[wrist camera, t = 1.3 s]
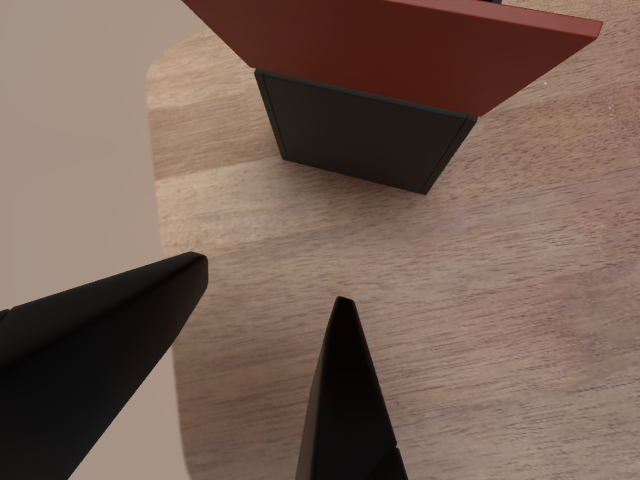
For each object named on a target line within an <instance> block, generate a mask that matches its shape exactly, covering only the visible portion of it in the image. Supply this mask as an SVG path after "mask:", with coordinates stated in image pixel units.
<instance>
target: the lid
mask: <svg viewBox="0 0 640 480" xmlns="http://www.w3.org/2000/svg"><path fill="white" fill-rule="evenodd" d="M182 1H183V2H184V3H185V4H186V5H187V6H188V7H189V8H190V9H191V10H192V11H193V12H194V13H195V14H196V15H197V16H198V17H199V18H200V19H202V21H203V22H204V23H205V24H206V25H207V26H208V27H209V28H210V29H211V30H212V31H213V32H215V33H216V34H217V35H218V36H219V37H220V38H221V39H222V40H223V41H224V42H225V43H226V44H227V45H228V46H229V47H230V48H231V49H232V50H233V51H234V52H235V53H236V54H237V55H238V56H239V57H240V58H241V59H242V60H243V61H244V62H245V63H246V64H247V65H248V66H249V67H251V68H256V69H260V70H265V71H270V72H274V73H279V74H284V75H288V76H293V77H298V78H302V79H307V80H311V81H316V82H321V83H325V84H330V85H335V86H339V87H344V88H349V89H353V90H358V91H363V92H367V93H372V94H377V95H381V96H386V97H391V98H395V99H400V100H404V101H409V102H414V103H418V104H423V105H428V106H432V107H437V108H442V109H446V110H451V111H456V112H460V113H465V114H470V115H474V116H479V117H481V116H483V115H484V114H486V113H487V112H489V111H490V110H492V109H493V108H495V107H496V106H498V105H499V104H501V103H502V102H504V101H505V100H507V99H508V98H510V97H511V96H513V95H514V94H516V93H517V92H519V91H520V90H522V89H523V88H525V87H526V86H527V85H529V84H530V83H532V82H533V81H535V80H536V79H538V78H539V77H541V76H542V75H544V74H545V73H547V72H548V71H550V70H551V69H553V68H554V67H556V66H557V65H559V64H560V63H562V62H563V61H565V60H566V59H568V58H569V57H571V56H572V55H574V54H575V53H577V52H578V51H579V50H581V49H582V48H584V47H585V46H587V45H588V44H590V43H591V42H593V41H594V40H596V39H597V38H598V35H599V33H600V30H601V28H602V25H603V22H602V21H597V20H591V19H586V18H580V17H574V16H568V15H562V14H556V13H550V12H544V11H538V10H533V9H527V8H521V7H515V6H509V5H503V4H497V3H491V2H486V1H480V0H182Z"/></svg>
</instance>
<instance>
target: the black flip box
mask: <svg viewBox="0 0 640 480" xmlns="http://www.w3.org/2000/svg"><path fill="white" fill-rule="evenodd" d="M480 1H486V2H491V3H497V4H501V3H502V0H480ZM254 75H255V78H256V81H257V84H258V87H259V90H260V93H261V96H262V99H263V102H264V105H265V108H266V111H267V114H268V117H269V120H270V123H271V126H272V129H273V132H274V135H275V138H276V141H277V144H278V147H279V150H280V153H281V155H282V159H285V160H289V161H293V162H297V163H301V164H305V165H308V166H312V167H316V168H320V169H324V170H328V171H332V172H336V173H340V174H344V175H348V176H352V177H356V178H360V179H364V180H368V181H372V182H376V183H380V184H384V185H388V186H392V187H396V188H400V189H404V190H408V191H412V192H416V193H420V194H424V195H426V194H427V193H428V191H429V190H430V188H431V187H432V185H433V184H434V183H435V181H436V180H437V178H438V177H439V175H440V174H441V173H442V171H443V170H444V168H445V167H446V165H447V164H448V162H449V161H450V160H451V158H452V157H453V155H454V154H455V152H456V151H457V150H458V148H459V147H460V145H461V144H462V142H463V141H464V139H465V138H466V137H467V135H468V134H469V132H470V131H471V129H472V128H473V127H474V125H475V124H476V122H477V119H478V116H474V115H470V114H465V113H460V112H456V111H451V110H446V109H442V108H437V107H432V106H428V105H423V104H418V103H414V102H409V101H404V100H400V99H395V98H391V97H386V96H381V95H377V94H372V93H367V92H363V91H358V90H353V89H349V88H344V87H339V86H335V85H330V84H325V83H321V82H316V81H311V80H307V79H302V78H298V77H293V76H288V75H284V74H279V73H274V72H270V71H265V70H260V69H256V70H255V72H254Z"/></svg>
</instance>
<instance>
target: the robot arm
mask: <svg viewBox="0 0 640 480" xmlns="http://www.w3.org/2000/svg"><path fill="white" fill-rule="evenodd" d="M207 286H208V259H207V257H206V256H205V255H202V254H199V253H196V252H187V253H183V254H180V255H177V256H174V257H171V258H168V259H164V260H161V261H158V262H155V263H152V264H149V265H145V266H143V267H139V268H136V269H133V270H130V271H126V272H123V273H120V274H117V275H114V276H111V277H107V278H105V279H101V280H98V281H95V282H92V283H89V284H85V285H82V286H79V287H76V288H72V289H69V290H66V291H63V292H60V293H57V294H53V295H50V296H47V297H44V298H41V299H38V300H35V301H31V302H28V303H25V304H22V305H19V306H15V307H13V308H12V309H11V310H9V309H6V310H2V311H0V480H68V478H69V477H70V476H71V474H72V473H73V472H74V471H75V469H76V468H77V467H78V465H79V464H80V463H81V462H82V460H83V459H84V458H85V456H86V455H87V454H88V452H89V451H90V450H91V449H92V447H93V446H94V445H95V443H96V442H97V441H98V439H99V438H100V437H101V436H102V434H103V433H104V432H105V430H106V429H107V428H108V427H109V425H110V424H111V422H112V421H113V420H114V419H115V417H116V416H117V415H118V413H119V412H120V411H121V410H122V408H123V407H124V406H125V404H126V403H127V402H128V401H129V399H130V398H131V397H132V395H133V394H134V393H135V392H136V390H137V389H138V388H139V386H140V385H141V384H142V382H143V381H144V380H145V379H146V377H147V376H148V375H149V373H150V372H151V371H152V369H153V368H154V367H155V366H156V364H157V363H158V362H159V360H160V359H161V358H162V356H163V355H164V354H165V353H166V351H167V350H168V349H169V347H170V346H171V345H172V343H173V342H174V340H175V339H176V337H177V336H178V334H179V333H180V331H181V330H182V328H183V326H184V325H185V323H186V321H187V320H188V318H189V317H190V315H191V313H192V312H193V310H194V308H195V307H196V305H197V304H198V302H199V300H200V299H201V297H202V295H203V294H204V292H205V290H206V288H207ZM396 446H397V441H396V438H395V435H394V431H393V428H392V425H391V422H390V418H389V415H388V412H387V408H386V405H385V402H384V398H383V395H382V392H381V388H380V385H379V382H378V378H377V375H376V372H375V368H374V365H373V362H372V358H371V355H370V352H369V348H368V345H367V342H366V338H365V335H364V332H363V328H362V325H361V322H360V319H359V315H358V312H357V309H356V305H355V302H354V301H353V300H351V299H348V298H345V297H341V296H338V297H337V298H336V300H335V303H334V306H333V309H332V312H331V316H330V319H329V322H328V325H327V328H326V332H325V336H324V339H323V343H322V347H321V351H320V355H319V359H318V362H317V366H316V370H315V374H314V378H313V382H312V386H311V390H310V395H309V400H308V406H307V412H306V418H305V424H304V430H303V436H302V441H301V447H300V453H299V459H298V465H297V471H296V477H295V480H408V477H407V474H406V471H405V467H404V464H403V461H402V457H401V454H400V451H399V449H398V448H397V447H396Z"/></svg>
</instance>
